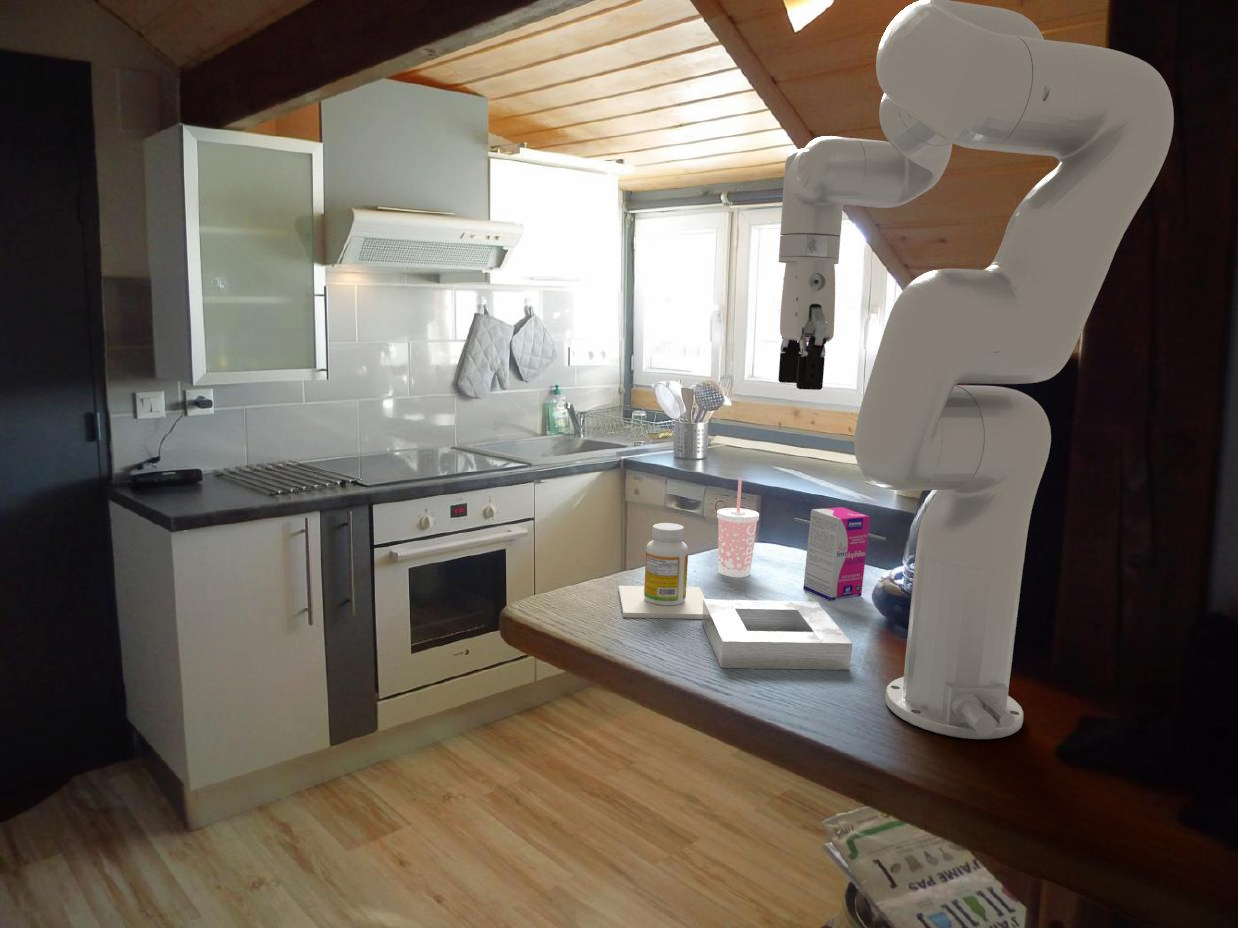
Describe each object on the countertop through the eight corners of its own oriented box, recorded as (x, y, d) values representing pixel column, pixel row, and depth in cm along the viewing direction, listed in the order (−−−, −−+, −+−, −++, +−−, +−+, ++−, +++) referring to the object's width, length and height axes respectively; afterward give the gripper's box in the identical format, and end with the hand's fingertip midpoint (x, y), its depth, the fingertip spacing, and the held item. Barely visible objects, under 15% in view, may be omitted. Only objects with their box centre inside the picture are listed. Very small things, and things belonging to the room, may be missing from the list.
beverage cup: (730, 580, 129) (736, 483, 127) (704, 569, 134) (710, 475, 132) (764, 575, 132) (770, 480, 130) (737, 564, 137) (743, 473, 135)
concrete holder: (849, 669, 98) (852, 643, 98) (721, 667, 97) (722, 640, 97) (815, 624, 112) (816, 601, 111) (701, 622, 111) (703, 599, 111)
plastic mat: (712, 618, 113) (712, 614, 113) (623, 617, 112) (623, 612, 112) (699, 591, 123) (699, 587, 123) (618, 589, 123) (618, 585, 123)
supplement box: (831, 602, 121) (838, 518, 119) (802, 589, 126) (808, 508, 124) (863, 597, 124) (871, 514, 122) (833, 584, 129) (840, 505, 127)
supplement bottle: (664, 590, 121) (667, 519, 120) (694, 601, 117) (698, 527, 116) (635, 598, 117) (638, 524, 116) (665, 609, 114) (669, 533, 112)
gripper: (859, 248, 108) (847, 393, 111) (819, 256, 125) (810, 381, 128) (796, 246, 107) (786, 391, 110) (765, 254, 124) (757, 379, 127)
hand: (799, 385), depth 119 cm, fingers open, 9 cm apart
